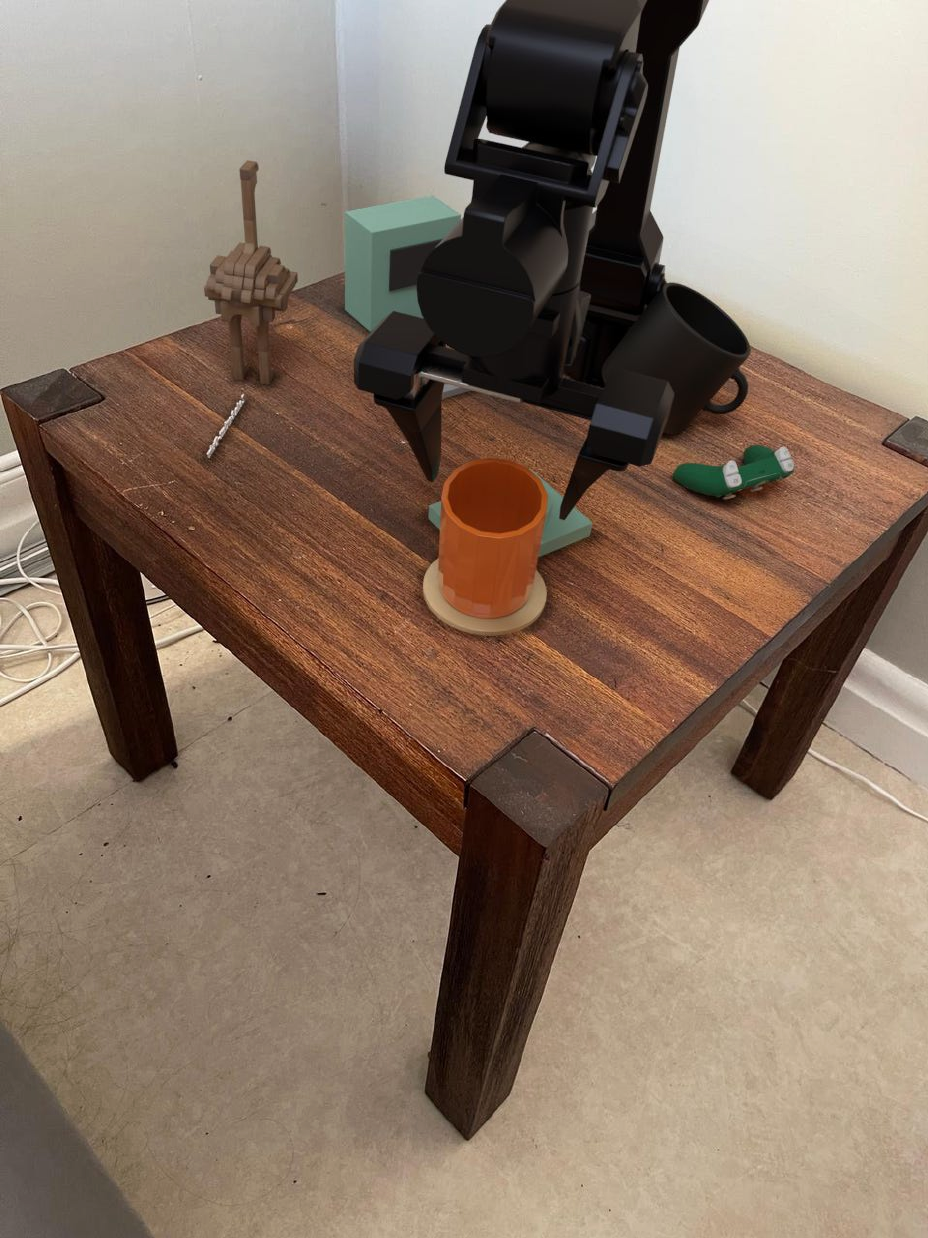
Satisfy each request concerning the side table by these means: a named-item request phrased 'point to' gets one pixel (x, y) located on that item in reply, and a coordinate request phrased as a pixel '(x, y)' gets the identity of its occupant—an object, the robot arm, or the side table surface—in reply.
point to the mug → (685, 352)
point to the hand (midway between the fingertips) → (497, 496)
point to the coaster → (481, 625)
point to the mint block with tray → (392, 258)
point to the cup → (490, 536)
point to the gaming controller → (737, 472)
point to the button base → (546, 523)
